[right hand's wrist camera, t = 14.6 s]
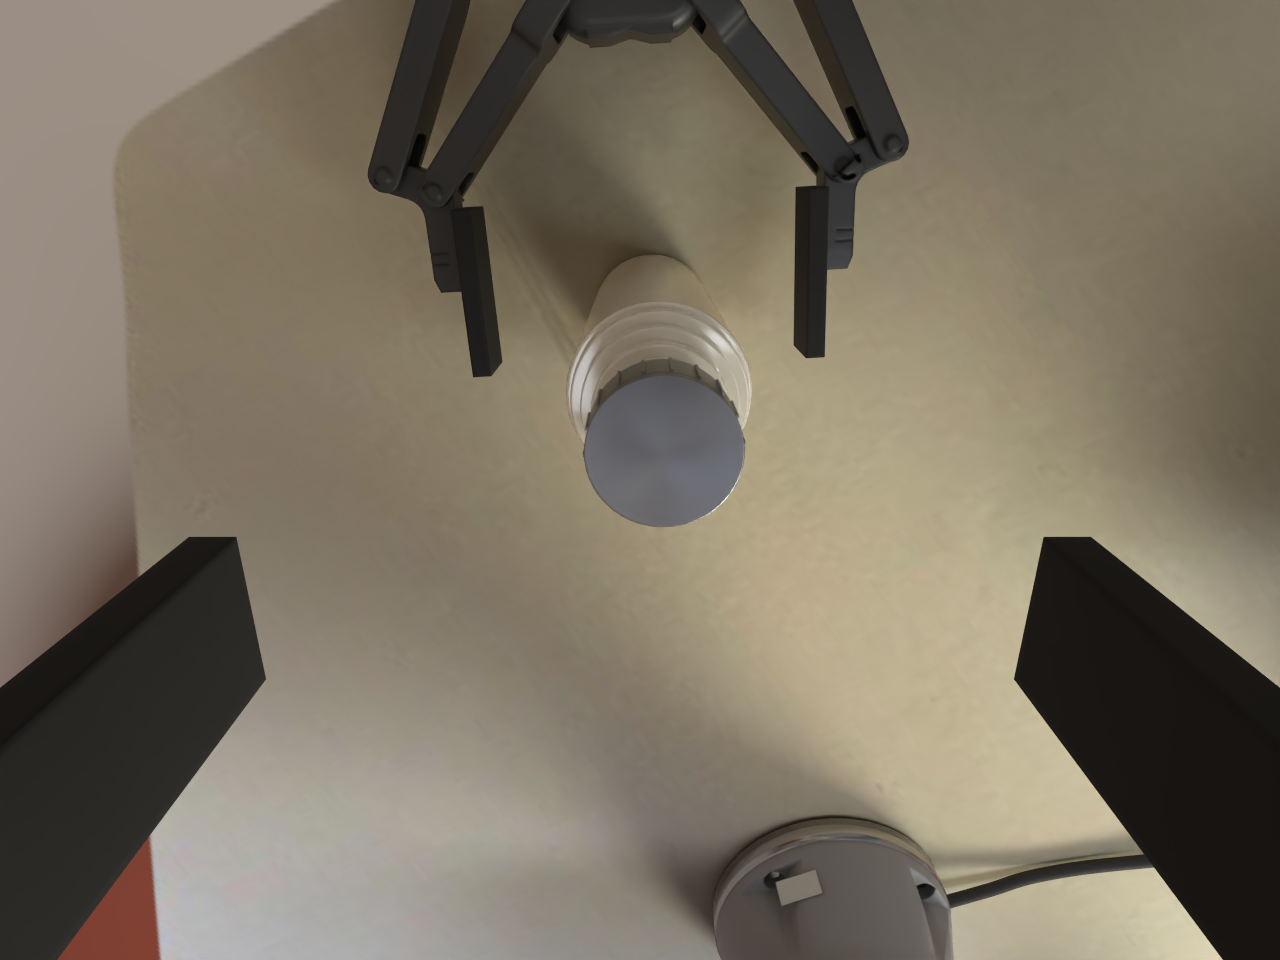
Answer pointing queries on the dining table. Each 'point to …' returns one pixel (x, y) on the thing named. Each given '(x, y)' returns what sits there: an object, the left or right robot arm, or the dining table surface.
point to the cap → (663, 443)
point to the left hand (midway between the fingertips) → (647, 361)
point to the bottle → (653, 333)
